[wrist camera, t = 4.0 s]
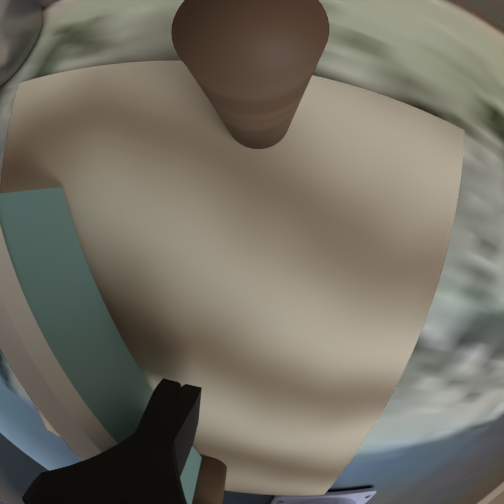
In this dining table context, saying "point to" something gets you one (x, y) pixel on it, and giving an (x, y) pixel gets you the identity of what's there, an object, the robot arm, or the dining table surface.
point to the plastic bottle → (17, 33)
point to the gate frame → (251, 231)
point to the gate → (66, 331)
